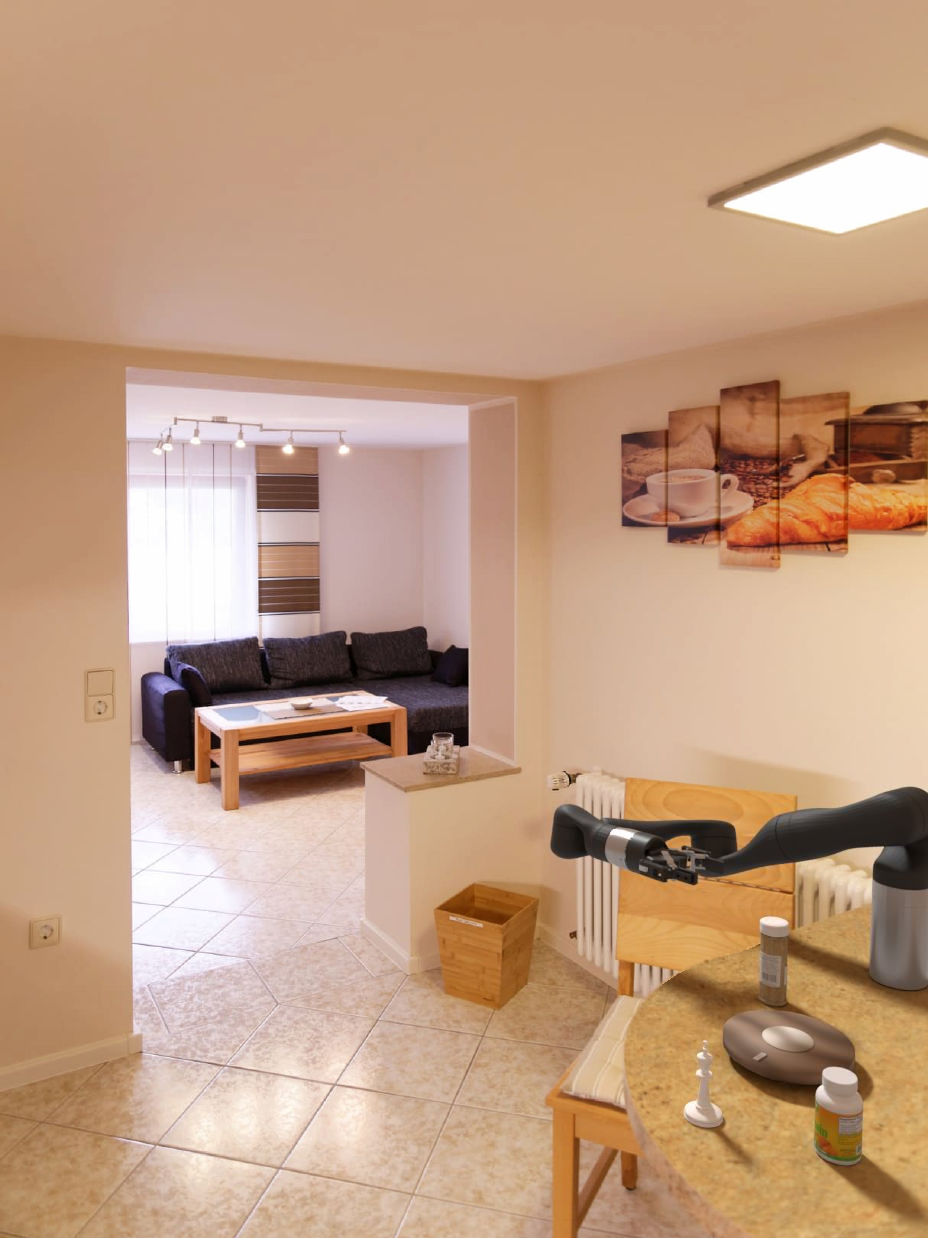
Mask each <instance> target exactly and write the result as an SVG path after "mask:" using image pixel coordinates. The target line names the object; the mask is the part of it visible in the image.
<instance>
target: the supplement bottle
mask: <svg viewBox="0 0 928 1238" xmlns="http://www.w3.org/2000/svg"><path fill="white" fill-rule="evenodd" d="M858 1084H859V1080H858V1076H857V1075H856V1074H855V1073H854V1072H853V1071H852V1072H851V1071H849V1070H847V1069H844V1068H840V1067H828V1068H826V1069H824V1070H823V1073H822V1084H820V1085H819V1086H818V1087H817V1089H816V1091H815V1097H814V1099H815V1103H814V1104H815V1105H814V1107H815V1109H814V1129H813V1132H814V1133H813V1135H814V1136H813V1148H814V1151H816V1153H817V1154H818V1155H819V1156H820V1157H821V1158H822V1159H823V1160H825V1161H827V1162H829V1163H832V1164H834V1165H838V1166H853V1165H856V1164H857V1163H858V1162H860V1160H861V1159H862V1152H863V1128H864V1127H863V1126H864V1125H863V1123H864V1122H863V1121H864V1100H863V1097H862V1096H861V1094H860V1093H859V1092H858V1089H859V1085H858Z"/></svg>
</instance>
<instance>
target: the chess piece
mask: <svg viewBox="0 0 928 1238" xmlns="http://www.w3.org/2000/svg"><path fill="white" fill-rule="evenodd" d="M707 1048H708V1041H707V1040H705V1039H703V1041H702V1051H701V1052H698V1053H697V1054H696V1060H697V1062H698V1066H699V1069H697V1070H696V1071H695V1072H696V1073H695V1076H696V1077H697V1078H699V1080H700V1081H699V1086H698V1092H697V1099H696V1100H692V1101H689V1102H687V1103H686V1105H684V1110H683V1116H684V1118H685V1120H686V1121H688V1122H689V1123H690V1124H692V1125H694V1126H696V1127H699V1128H706V1129H707V1128H708V1129H709V1128H710V1129H712V1128H716V1127H719V1126H720V1125H721V1124H723V1121H724V1117H723V1112H722V1110H721V1108H720V1107H719V1106H718V1105H716V1104H714V1103H712V1102H711V1098H710V1089H709V1088H710V1087H709V1080H712V1079H713V1077H714V1075H713V1072H712V1071H711V1070H710V1068H711V1065H712V1063H713V1060H714V1057H713V1055H712V1054H711V1053H709V1052H708V1049H707Z"/></svg>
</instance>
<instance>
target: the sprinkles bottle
mask: <svg viewBox="0 0 928 1238" xmlns="http://www.w3.org/2000/svg"><path fill="white" fill-rule="evenodd" d="M759 932H760V942H759V943H760V947H759V968H758V969H759V972H758V973H759V974H758V977H759V978H758V980H759V986H758V987H759V988H758V989H759V991H758V997H757V998H758V1000H759V1001H760V1002H761V1003H762V1004H764V1005H766V1006H770V1007H783V1006H785V1005H786V1004H787V1003H788V998H787V996H788V995H787V988H788V985H787V984H788V971H789V970H788V968H789V967H788V943H789V942H788V940H789V938H788V937H789V935H790V923H789V922H788V920H786V919H784V918H781V917H777V916H765V917H762V918H760V920H759Z"/></svg>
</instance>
